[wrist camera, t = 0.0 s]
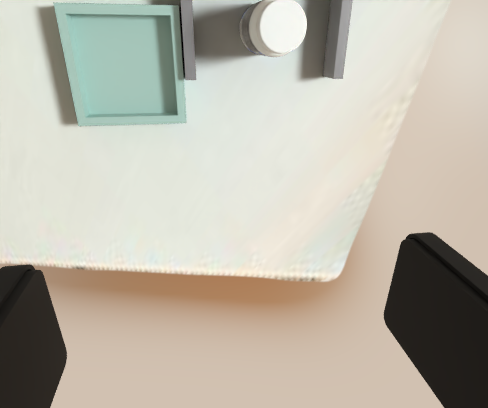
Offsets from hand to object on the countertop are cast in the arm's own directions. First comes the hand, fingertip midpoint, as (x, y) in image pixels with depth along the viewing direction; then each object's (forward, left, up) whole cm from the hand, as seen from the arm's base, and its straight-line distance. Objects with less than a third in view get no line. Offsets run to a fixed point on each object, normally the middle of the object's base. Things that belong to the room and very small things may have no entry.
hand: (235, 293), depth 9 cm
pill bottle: (-7, +7, -31) cm, 33 cm away
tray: (-3, -6, -31) cm, 32 cm away
